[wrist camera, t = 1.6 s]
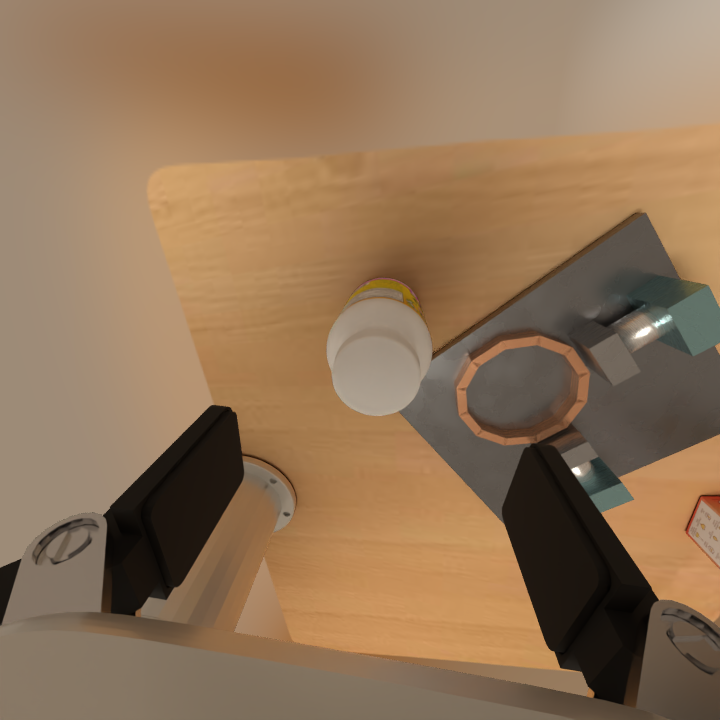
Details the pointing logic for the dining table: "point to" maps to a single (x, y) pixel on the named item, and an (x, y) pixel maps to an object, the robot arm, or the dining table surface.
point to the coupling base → (580, 372)
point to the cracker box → (707, 527)
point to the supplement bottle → (379, 348)
